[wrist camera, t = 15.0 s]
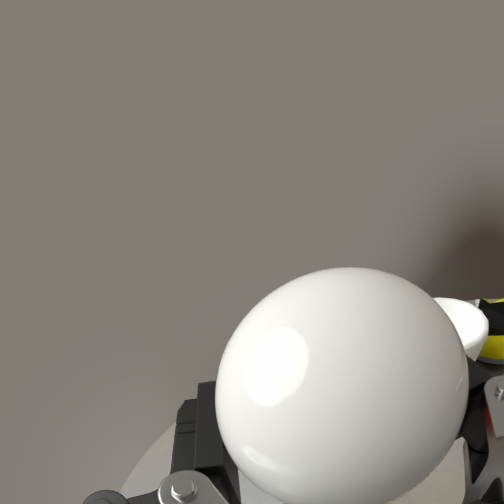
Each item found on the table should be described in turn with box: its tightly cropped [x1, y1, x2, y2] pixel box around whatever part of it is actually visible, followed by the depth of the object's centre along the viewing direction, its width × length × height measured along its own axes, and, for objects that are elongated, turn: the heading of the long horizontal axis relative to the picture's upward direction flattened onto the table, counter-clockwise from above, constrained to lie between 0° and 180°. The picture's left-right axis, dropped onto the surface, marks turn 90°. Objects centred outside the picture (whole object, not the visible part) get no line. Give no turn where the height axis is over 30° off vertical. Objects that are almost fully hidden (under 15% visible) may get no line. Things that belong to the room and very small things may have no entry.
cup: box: [433, 298, 489, 361], centre depth 26 cm, size 10×10×9 cm
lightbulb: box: [215, 267, 469, 504], centre depth 8 cm, size 6×6×11 cm
